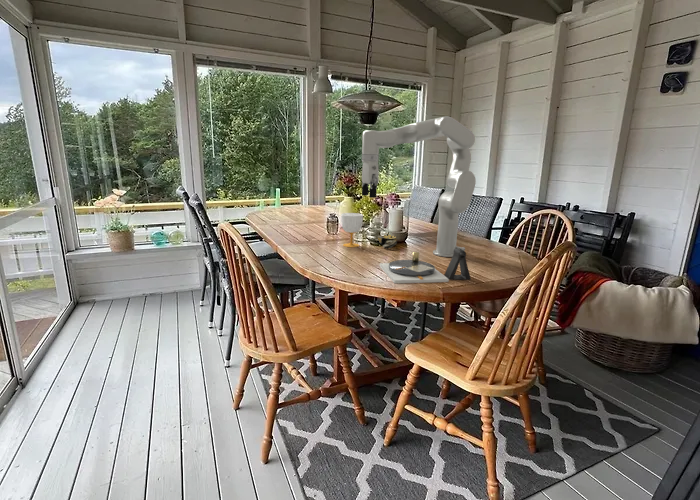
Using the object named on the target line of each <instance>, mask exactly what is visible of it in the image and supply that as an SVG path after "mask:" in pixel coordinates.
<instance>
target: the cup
mask: <svg viewBox="0 0 700 500" xmlns="http://www.w3.org/2000/svg"><path fill="white" fill-rule="evenodd" d="M340 216H341V218H340V219H341V220H340V221H341V222H340V223H341V227H342V229H343V231H344V232H346V233H348V234H349V235H350V242H349V243H343V245H342V246H343V247H345V248H346V247H347V248H359V247H360V244H358V243H353V235H354V234H357V233H359V232H360V231H361V228H362V226H363V220H364V214H362V213H358V212H357V213H356V212H343V213H341V215H340Z"/></svg>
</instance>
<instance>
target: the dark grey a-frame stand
mask: <svg viewBox="0 0 700 500" xmlns="http://www.w3.org/2000/svg"><path fill="white" fill-rule="evenodd" d="M459 249H460V248H459ZM459 249H458V248H455V249H454V254H453V257H451V259H450V261H449V264H448V265H447V268H446V269H445V273H444V274H443V275H444V276H445V277H447V278H448V279H449V281H471V274H470V271H469V267H468V262H467V260H466V256H467V252H466V250H465V251H463V250H462V249H460V250H459ZM458 267H459V269H460V274H456V273H457V270H458Z"/></svg>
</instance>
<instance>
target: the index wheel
mask: <svg viewBox="0 0 700 500" xmlns="http://www.w3.org/2000/svg"><path fill="white" fill-rule="evenodd" d="M411 258H412V259H399V260H398V259H397V260H393V261H391V262H389V270H390V271H392V272H394V273H397V274H401V275H406V276H427V275H431V274H433V273H434V271H435V269H436V267H435V265H433V264H432V263H430V262H427V261H422V260H420V252H419V251H412V257H411Z"/></svg>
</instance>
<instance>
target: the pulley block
mask: <svg viewBox="0 0 700 500" xmlns="http://www.w3.org/2000/svg"><path fill="white" fill-rule="evenodd" d="M391 235H392V234H391ZM391 235H388V236H386V235H384V236H378V241H379V244H380V245H382V248H383V249H386V250H387V249H392V248H393V247H395V246H396V245H397V244H398V238H396V237H397V236H395V235H393V236H391ZM394 236H395V237H394Z"/></svg>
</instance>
